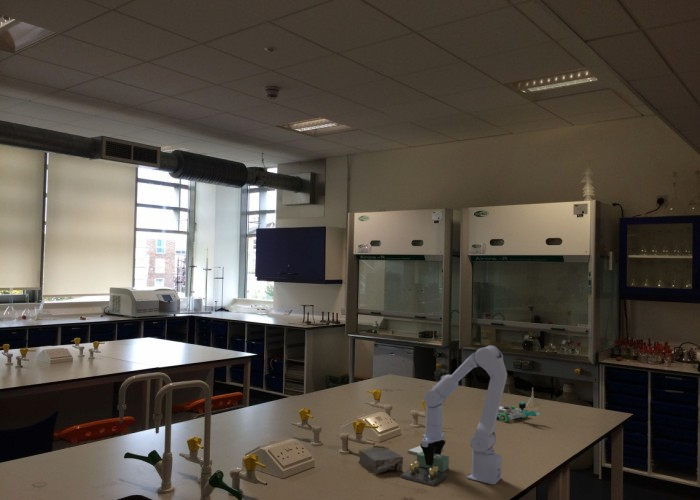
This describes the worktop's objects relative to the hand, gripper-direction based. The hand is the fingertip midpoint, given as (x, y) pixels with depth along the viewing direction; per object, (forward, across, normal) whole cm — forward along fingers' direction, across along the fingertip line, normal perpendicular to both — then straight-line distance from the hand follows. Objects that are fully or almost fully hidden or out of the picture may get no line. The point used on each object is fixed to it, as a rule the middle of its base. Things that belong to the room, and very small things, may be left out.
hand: (432, 462), depth 201 cm
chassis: (+2, +11, +2) cm, 11 cm away
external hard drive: (+2, -15, -10) cm, 18 cm away
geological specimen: (+2, +11, -15) cm, 19 cm away
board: (+1, 0, 0) cm, 1 cm away
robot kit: (+2, -87, +3) cm, 87 cm away
